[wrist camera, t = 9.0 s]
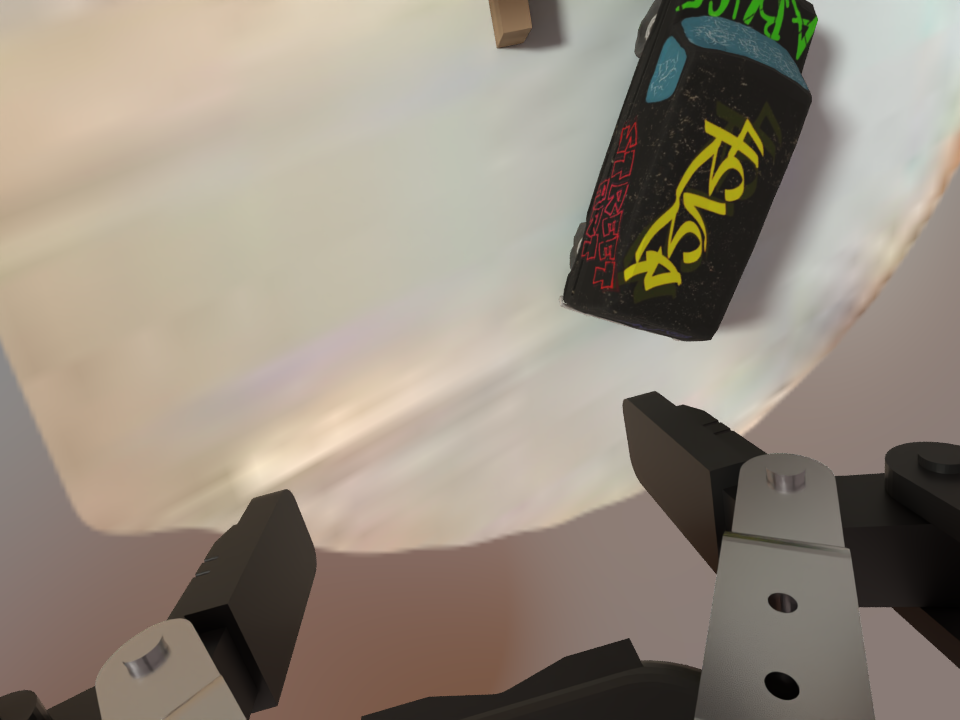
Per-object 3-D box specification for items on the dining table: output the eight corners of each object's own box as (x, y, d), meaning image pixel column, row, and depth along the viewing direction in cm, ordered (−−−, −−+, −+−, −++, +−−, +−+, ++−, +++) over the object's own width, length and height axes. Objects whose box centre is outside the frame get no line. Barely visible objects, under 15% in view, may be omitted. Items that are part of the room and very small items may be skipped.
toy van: (772, 32, 39) (889, -31, 29) (658, 333, 44) (724, 363, 35) (651, -20, 37) (733, -106, 27) (547, 301, 42) (585, 324, 33)
